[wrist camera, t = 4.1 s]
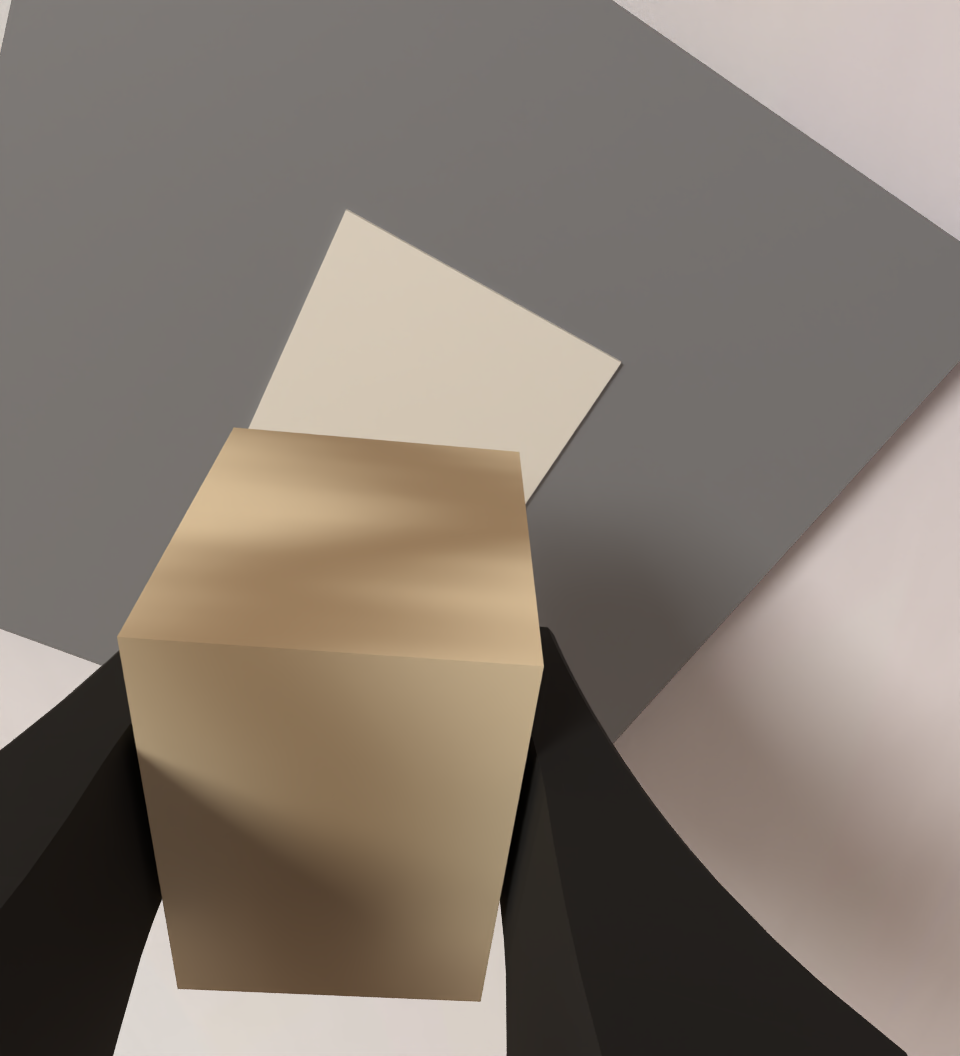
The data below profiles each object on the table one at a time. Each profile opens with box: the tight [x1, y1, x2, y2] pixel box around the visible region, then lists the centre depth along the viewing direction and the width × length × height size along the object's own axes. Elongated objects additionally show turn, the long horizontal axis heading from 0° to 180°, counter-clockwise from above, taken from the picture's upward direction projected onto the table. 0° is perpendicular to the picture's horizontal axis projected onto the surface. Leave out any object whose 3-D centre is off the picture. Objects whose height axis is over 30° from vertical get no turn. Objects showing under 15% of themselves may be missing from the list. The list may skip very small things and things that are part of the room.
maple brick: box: [117, 427, 544, 1002], centre depth 11 cm, size 4×6×4 cm, turn 174°
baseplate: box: [0, 0, 960, 744], centre depth 18 cm, size 18×18×1 cm
